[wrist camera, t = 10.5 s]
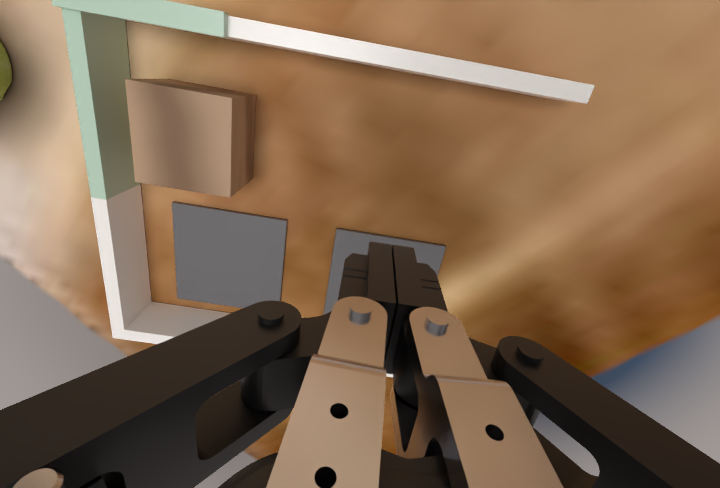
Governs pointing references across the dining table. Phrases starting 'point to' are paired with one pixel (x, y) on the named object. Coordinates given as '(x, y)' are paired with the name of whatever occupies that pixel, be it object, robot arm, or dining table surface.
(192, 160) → the walnut block
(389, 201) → the dining table surface
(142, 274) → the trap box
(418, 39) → the dining table surface
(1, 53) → the plant pot
